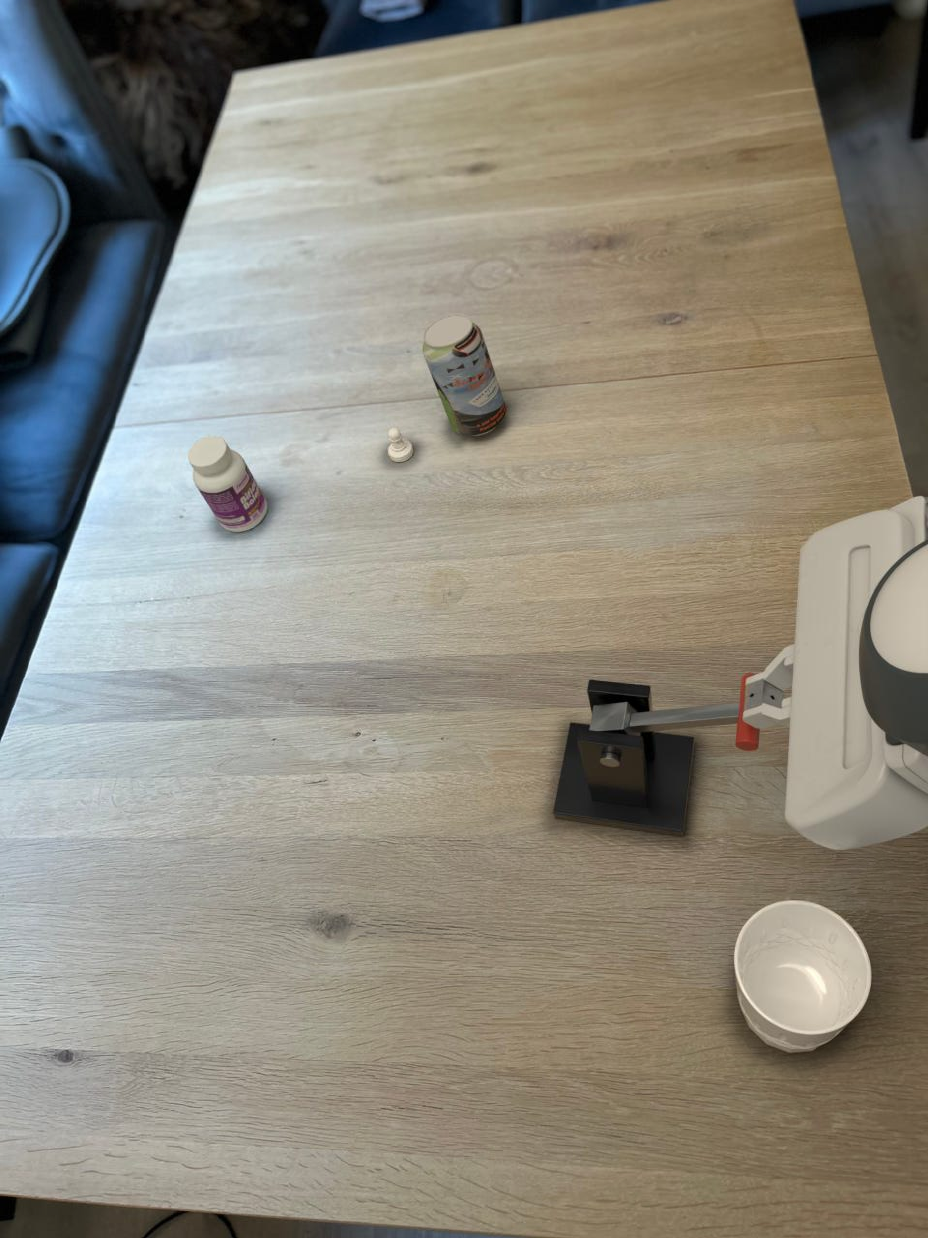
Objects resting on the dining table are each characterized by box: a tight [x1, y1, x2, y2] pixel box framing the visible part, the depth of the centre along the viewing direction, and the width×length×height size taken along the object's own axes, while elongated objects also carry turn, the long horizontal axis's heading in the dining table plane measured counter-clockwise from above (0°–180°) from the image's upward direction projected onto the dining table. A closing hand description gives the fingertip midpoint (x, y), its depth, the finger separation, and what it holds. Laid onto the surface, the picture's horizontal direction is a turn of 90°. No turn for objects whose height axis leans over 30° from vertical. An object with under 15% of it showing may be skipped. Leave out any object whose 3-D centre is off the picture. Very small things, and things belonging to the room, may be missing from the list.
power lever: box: [589, 673, 761, 752], centre depth 68 cm, size 12×5×2 cm, turn 77°
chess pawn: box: [387, 427, 414, 463], centre depth 102 cm, size 3×3×4 cm
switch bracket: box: [552, 679, 695, 838], centre depth 74 cm, size 10×8×12 cm
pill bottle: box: [187, 435, 268, 533], centre depth 99 cm, size 5×5×10 cm
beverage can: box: [422, 313, 508, 437], centre depth 99 cm, size 6×7×12 cm
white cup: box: [733, 899, 872, 1054], centre depth 64 cm, size 8×8×10 cm
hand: (750, 704), depth 63 cm, fingers closed
